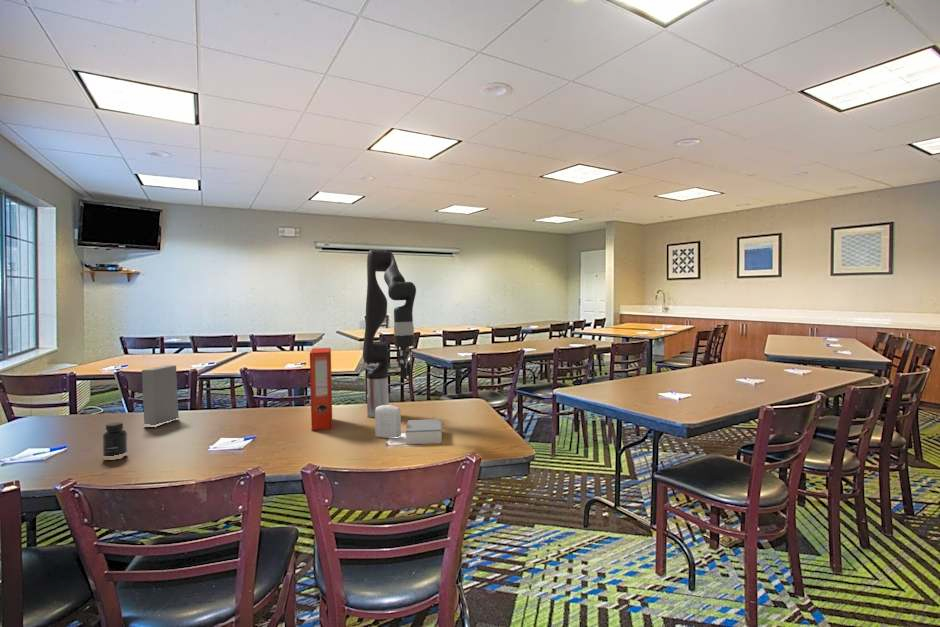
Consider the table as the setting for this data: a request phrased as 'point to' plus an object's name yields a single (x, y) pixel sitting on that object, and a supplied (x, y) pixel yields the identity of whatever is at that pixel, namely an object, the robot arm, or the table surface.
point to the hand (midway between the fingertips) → (406, 376)
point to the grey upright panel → (160, 394)
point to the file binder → (321, 388)
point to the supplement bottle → (114, 440)
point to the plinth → (424, 431)
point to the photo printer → (387, 421)
